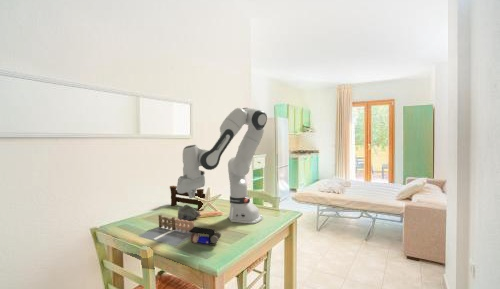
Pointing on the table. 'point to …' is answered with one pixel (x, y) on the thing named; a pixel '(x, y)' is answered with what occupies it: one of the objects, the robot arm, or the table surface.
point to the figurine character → (204, 239)
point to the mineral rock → (187, 213)
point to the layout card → (167, 235)
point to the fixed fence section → (167, 222)
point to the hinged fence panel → (186, 228)
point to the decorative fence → (186, 200)
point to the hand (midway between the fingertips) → (192, 197)
